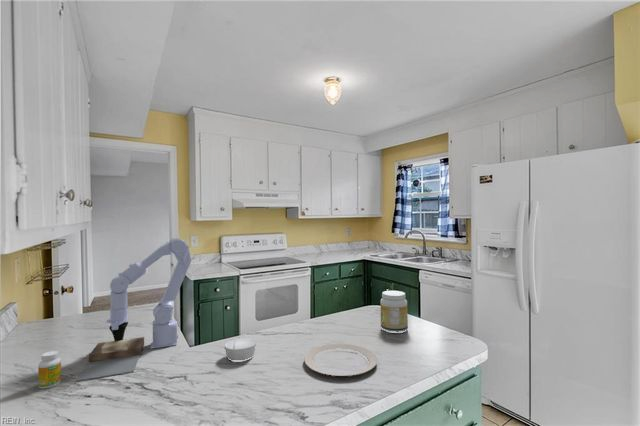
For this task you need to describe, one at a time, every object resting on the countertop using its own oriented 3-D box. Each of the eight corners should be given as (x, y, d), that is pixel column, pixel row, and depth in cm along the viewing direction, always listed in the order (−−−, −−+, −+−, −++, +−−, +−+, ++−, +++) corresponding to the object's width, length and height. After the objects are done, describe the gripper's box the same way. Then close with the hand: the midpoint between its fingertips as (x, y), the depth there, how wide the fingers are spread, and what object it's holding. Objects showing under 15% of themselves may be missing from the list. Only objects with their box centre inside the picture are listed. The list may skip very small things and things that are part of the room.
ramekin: (218, 358, 116) (218, 343, 117) (244, 348, 125) (244, 335, 125) (235, 367, 109) (235, 352, 109) (261, 357, 117) (261, 342, 117)
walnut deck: (144, 344, 130) (144, 336, 130) (139, 355, 119) (139, 347, 119) (98, 350, 124) (98, 343, 124) (89, 363, 113) (89, 354, 113)
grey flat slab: (139, 355, 119) (139, 354, 119) (133, 372, 106) (133, 371, 106) (88, 363, 113) (88, 362, 113) (75, 381, 100) (75, 380, 100)
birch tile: (130, 344, 123) (130, 339, 123) (127, 349, 117) (127, 344, 117) (105, 347, 120) (105, 342, 120) (101, 353, 114) (101, 348, 114)
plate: (338, 343, 129) (337, 338, 129) (391, 363, 111) (391, 357, 111) (289, 363, 111) (289, 358, 111) (343, 391, 93) (343, 384, 93)
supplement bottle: (47, 390, 95) (47, 357, 96) (33, 388, 96) (33, 356, 97) (65, 381, 101) (65, 350, 101) (51, 379, 102) (52, 349, 102)
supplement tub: (380, 325, 151) (379, 289, 151) (406, 326, 149) (405, 290, 149) (381, 334, 138) (380, 295, 139) (409, 335, 137) (409, 296, 137)
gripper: (111, 304, 128) (111, 338, 127) (101, 314, 114) (101, 351, 114) (131, 302, 130) (131, 335, 130) (124, 311, 117) (124, 348, 117)
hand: (118, 343), depth 122 cm, fingers closed
